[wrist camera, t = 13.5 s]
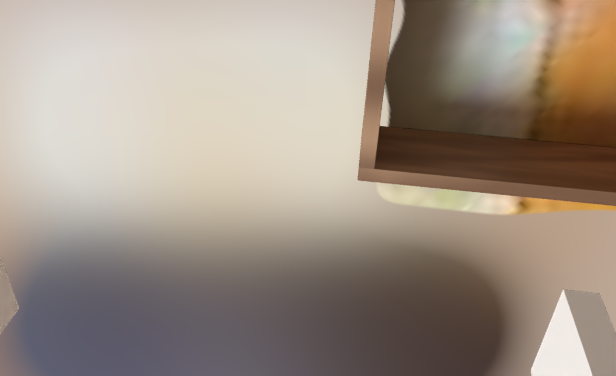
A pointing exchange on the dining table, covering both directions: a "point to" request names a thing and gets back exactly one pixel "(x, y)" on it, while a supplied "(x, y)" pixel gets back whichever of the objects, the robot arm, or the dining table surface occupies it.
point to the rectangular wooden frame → (474, 151)
